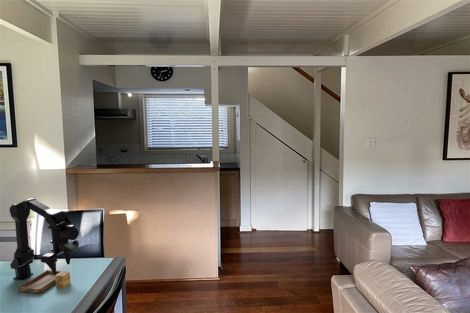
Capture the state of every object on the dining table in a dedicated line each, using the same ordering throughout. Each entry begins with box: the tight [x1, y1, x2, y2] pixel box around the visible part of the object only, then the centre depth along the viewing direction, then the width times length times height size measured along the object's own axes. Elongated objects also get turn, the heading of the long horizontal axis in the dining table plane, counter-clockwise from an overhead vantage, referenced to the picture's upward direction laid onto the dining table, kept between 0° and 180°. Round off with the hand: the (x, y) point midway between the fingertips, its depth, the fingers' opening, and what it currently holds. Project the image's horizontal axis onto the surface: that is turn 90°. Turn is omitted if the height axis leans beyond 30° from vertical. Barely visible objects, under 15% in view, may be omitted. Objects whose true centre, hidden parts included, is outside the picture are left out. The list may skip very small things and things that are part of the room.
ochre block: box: [55, 270, 72, 289], centre depth 159 cm, size 4×4×6 cm
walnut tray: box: [17, 269, 68, 295], centre depth 161 cm, size 12×18×2 cm, turn 169°
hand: (61, 268), depth 158 cm, fingers open, 9 cm apart
